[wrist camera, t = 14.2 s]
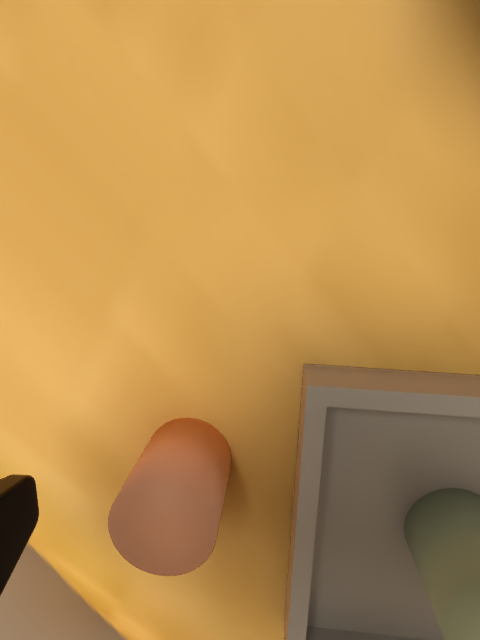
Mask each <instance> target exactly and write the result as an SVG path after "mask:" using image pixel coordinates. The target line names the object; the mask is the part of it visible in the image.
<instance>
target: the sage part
mask: <svg viewBox="0 0 480 640" xmlns="http://www.w3.org/2000/svg"><path fill="white" fill-rule="evenodd" d="M404 534H405V538H406V541H407V544H408V546H409V549H410V551H411V554H412V557H413V559H414V562H415V564H416V567H417V570H418V572H419V575H420V577H421V580H422V583H423V585H424V588H425V590H426V593H427V596H428V598H429V601H430V603H431V606H432V609H433V611H434V614H435V616H436V619H437V622H438V624H439V627H440V629H441V632H442V635H443V637H444V640H480V496H479V495H477V494H476V493H474V492H471V491H468V490H465V489H459V488H445V489H439V490H436V491H433V492H430V493H428V494H426V495H424V496H423V497H421V498H420V499H419V500H417V501H416V502H415V503H414V504H413V506H412V507H411V508H410V510H409V512H408V513H407V516H406V518H405V523H404Z"/></svg>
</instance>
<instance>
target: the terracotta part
mask: <svg viewBox="0 0 480 640" xmlns="http://www.w3.org/2000/svg"><path fill="white" fill-rule="evenodd" d="M230 468H231V451H230V448H229V445H228V443H227V441H226V439H225V438H224V436H223V435H222V434H221V433H220V432H219V431H218V430H217V429H216V428H215V427H213V426H212V425H210V424H208V423H206V422H204V421H201V420H198V419H192V418H180V419H175V420H172V421H170V422H167V423H166V424H164V425H162V426H161V427H160V428H159V429H158V430H157V431H156V432H155V433H154V435H153V436H152V438H151V440H150V441H149V443H148V445H147V446H146V448H145V450H144V452H143V453H142V455H141V457H140V458H139V460H138V462H137V463H136V465H135V467H134V469H133V470H132V472H131V474H130V475H129V477H128V479H127V480H126V482H125V484H124V486H123V487H122V489H121V491H120V492H119V494H118V496H117V497H116V499H115V501H114V503H113V505H112V507H111V509H110V513H109V518H108V526H109V533H110V536H111V539H112V541H113V544H114V545H115V547H116V549H117V550H118V551H119V553H120V554H121V555H122V556H123V557H124V558H125V559H126V560H127V561H128V562H129V563H131V564H132V565H134V566H135V567H137V568H139V569H141V570H143V571H145V572H148V573H151V574H155V575H161V576H176V575H181V574H185V573H188V572H190V571H192V570H194V569H196V568H198V567H199V566H200V565H202V564H203V563H204V562H205V561H206V560H207V559H208V557H209V556H210V554H211V553H212V551H213V548H214V546H215V542H216V537H217V532H218V527H219V523H220V518H221V513H222V508H223V503H224V498H225V493H226V488H227V483H228V478H229V473H230Z"/></svg>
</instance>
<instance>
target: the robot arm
mask: <svg viewBox="0 0 480 640" xmlns="http://www.w3.org/2000/svg"><path fill="white" fill-rule="evenodd" d="M38 517H39V508H38V499H37V491H36V483H35V480H34V478H33V477H32V476H30V475H15V474H14V475H9V476H7V477H5V478H2V479H0V595H1V593H2V592H3V590H4V588H5V586H6V584H7V582H8V580H9V578H10V576H11V574H12V572H13V570H14V568H15V566H16V564H17V562H18V560H19V558H20V556H21V554H22V552H23V550H24V548H25V546H26V544H27V542H28V540H29V538H30V536H31V534H32V532H33V530H34V528H35V526H36V524H37V521H38Z"/></svg>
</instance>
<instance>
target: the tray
mask: <svg viewBox="0 0 480 640" xmlns="http://www.w3.org/2000/svg"><path fill="white" fill-rule="evenodd" d="M445 488H459V489H465V490H468V491H471V492H474V493H476V494H477V495H479V496H480V375H468V374H453V373H438V372H422V371H407V370H392V369H376V368H361V367H346V366H330V365H315V364H304V366H303V380H302V393H301V406H300V420H299V433H298V446H297V460H296V473H295V486H294V500H293V513H292V526H291V540H290V553H289V566H288V579H287V593H286V606H285V619H284V640H444V637H443V635H442V632H441V629H440V627H439V624H438V622H437V619H436V616H435V614H434V611H433V609H432V606H431V603H430V601H429V598H428V596H427V593H426V590H425V588H424V585H423V583H422V580H421V577H420V575H419V572H418V570H417V567H416V564H415V562H414V559H413V557H412V554H411V551H410V549H409V546H408V544H407V541H406V538H405V534H404V523H405V518H406V516H407V513H408V512H409V510H410V508H411V507H412V506H413V504H414V503H415V502H416V501H417V500H419V499H420V498H421V497H423V496H424V495H426V494H428V493H430V492H433V491H436V490H439V489H445Z"/></svg>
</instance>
